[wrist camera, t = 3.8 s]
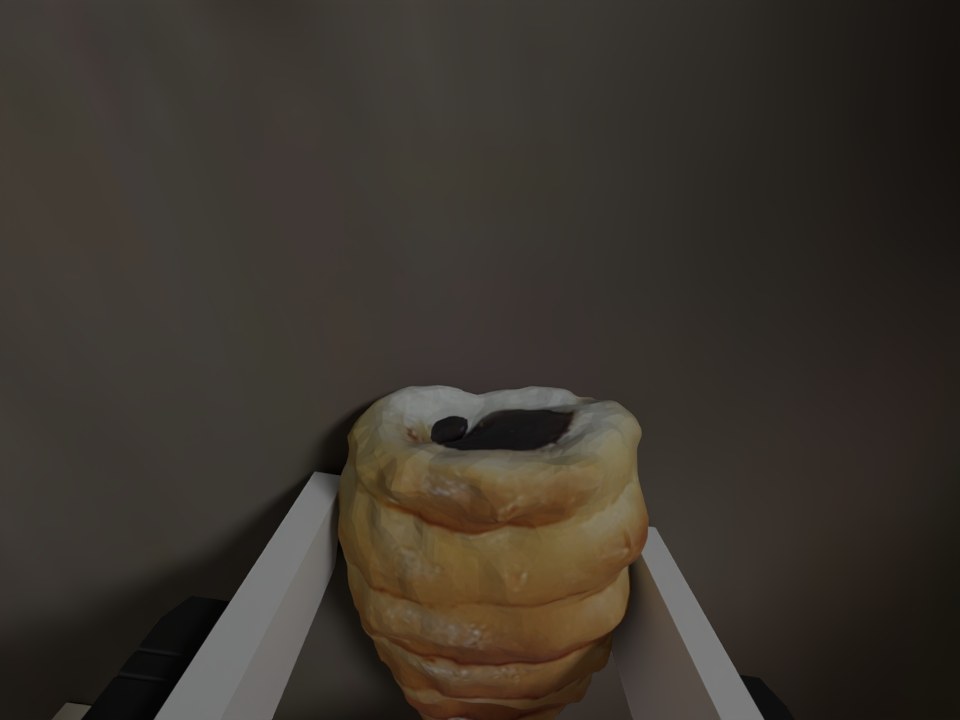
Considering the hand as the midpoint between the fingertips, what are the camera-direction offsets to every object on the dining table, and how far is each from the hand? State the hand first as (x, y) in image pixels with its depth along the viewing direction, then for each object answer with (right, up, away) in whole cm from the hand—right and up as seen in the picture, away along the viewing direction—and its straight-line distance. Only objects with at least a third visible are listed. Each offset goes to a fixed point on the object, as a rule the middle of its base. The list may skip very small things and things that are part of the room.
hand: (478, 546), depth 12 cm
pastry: (0, +1, 0) cm, 1 cm away
